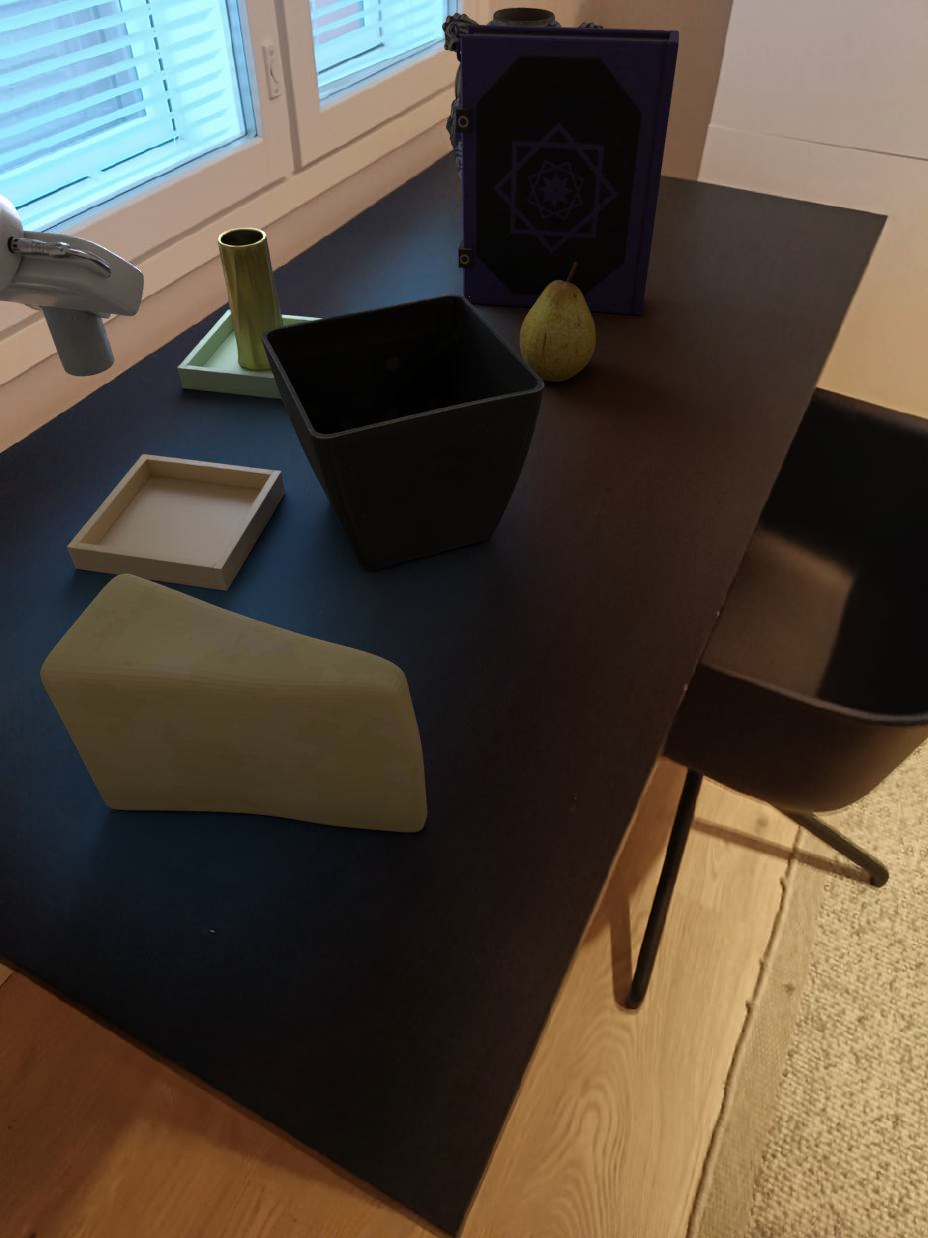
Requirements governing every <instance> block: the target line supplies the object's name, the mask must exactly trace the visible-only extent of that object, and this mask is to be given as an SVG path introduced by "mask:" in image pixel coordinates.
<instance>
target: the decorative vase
mask: <svg viewBox="0 0 928 1238" xmlns="http://www.w3.org/2000/svg"><path fill="white" fill-rule="evenodd" d="M555 15H556V14H555V13H554V12H553V11H550V10H548V9H545V8H544V9H543V8H537V7H536V8H535V7H507V8H506V7H505V8H502V9H498V10H496V11H495V12H494V13H493V14H492V20H490V21H489V22H488V23H487V24H486V25H506V26H541V27H563V26H562V24H561V23H560V22H559V21H557V20H556V16H555ZM468 24H472V25H480V24H479V23H478V22H477V21H476V20H474V19H472V18H470V17H469V16H468V15H467V14H466V13H461V14H460V13H459V12H455V13H454V14H453V15H447V16H446V17H445V21H444V22H442V25H441V29H442V32H443V33H444V44H443V48H444V50H445V51H449V52H453V53H455V54H456V59H457V61H458V62H459V64H458V67H457V70H456V73H455V78H454V99H453V100H452V101H451V105H450V113H449V115H448V117H447V119H446V124H445V128H446V130H447V133H448V134H449V141H450V145H451V147H452V151H453V156H454V161H455V166H456V170H457V172H458V176H459V179H460V183H461V184H462V133H459V132H457V124H456V109H457V108H458V106H459V104H460V103H461V34H468ZM576 28H604V26H603V25H601V24H598V25H597V24H596V23H595V22H594V21H591V22H588V23H587V22H582V23H581V24H580V25H579V26H576Z"/></svg>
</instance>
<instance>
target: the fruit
mask: <svg viewBox="0 0 928 1238" xmlns="http://www.w3.org/2000/svg"><path fill="white" fill-rule="evenodd" d="M578 265H579V263H578V262H574V263H573V266H572V269H571V272H570V274H569V276H568V278H567V280H566V282H565V281H561V280H556V281H553V282H552V283H550V284H549V285H548V286H547V287H546V288H545V289H544V291H543V292H542V294H541V295H540V297H539V298H538V300H537V301H536V302H535V304H534V305H533V307H532V308H530V309H529V311H528V312H527V313H526V315H525V317H524V319H523V321H522V324H521V327H520V332H519V348H520V354H521V355H520V356H521V358H522V359H523V360H524V361H525V362H526V363H527V364H528V365H529V366H530V367H531V369H532V370H533V371H534V372H535V373H536V374H537V375H538V376H539V377H540V378H541V379H542V380H543V381H545V382H551V383H552V382H554V383H555V382H556V383H557V382H558V383H559V382H564V381H567V380H569V379H571V378H573V377H575V376H577V375H578V374H579V373H580V372H581V371H582V370H583V369H584V368H585V367H586V366H588V364H589V363H590V361H591V359H592V357H593V356H594V353H595V350H596V345H597V334H596V333H597V332H596V324H595V321H594V318H593V315H592V312H590V310H589V308H588V306H587V304H586V301H585V299H584V297H583V294H582V292H581V291H580V289H579V288H578V287H577V286H575V285H574V284H572V283H570V281H571V278H572V276H573V275H574V273H575V270H576V267H577V266H578Z"/></svg>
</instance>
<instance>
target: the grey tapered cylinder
mask: <svg viewBox="0 0 928 1238" xmlns="http://www.w3.org/2000/svg"><path fill="white" fill-rule="evenodd" d="M41 308H42V311H41V312H42V314H43V317H44V319H45V322H46V324H47V328H48V330H49V333H50V335H51V338H52V341H53V343H54V346H55V350H56V352H57V355H58V357H59V360H60V364H61V365H62V368H63V370H64V372H65V373H66V374H68V375H70V376H73V377H89V376H95V375H98V374H101V373H104V372H106V371H108V370H109V369H110V368H111V367H113V365H114V364H115V356H114V352H113V349H112V346H111V343H110V340H109V339H110V338H109V337H108V334H107V330H106V327H105V324H104V321H103V318H98V317H92V316H91V315H89V314H87V313H85V312H84V311H82V310H74V309H66V308H57V307H49V306H41Z"/></svg>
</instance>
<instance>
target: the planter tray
mask: <svg viewBox="0 0 928 1238" xmlns="http://www.w3.org/2000/svg"><path fill="white" fill-rule="evenodd" d="M282 471H283V470H277V469H276V470H275V469H274V470H273V469H267V468H259V467H252V466H251V467H250V466H242V465H233V464H226V463H220V462H219V463H218V462H211V461H210V462H209V461H204V460H195V459H186V458H179V457H171V456H170V457H169V456H161V455H154V454H145V453H142V454H141V456H140V457H139V458H138V459H137V460H136V462H135V463H134V464H133V465H132V467H130V469H129V470H128V471H127V472H126V474H125V475H124V476H123V477H122V479H121V480H120V481H119V482H118V483H117V485H116V486H115V487H114V488H113V490H112V491H111V492H110V493H109V494H108V496H107V497H106V498H105V500H104V501H103V502H102V503H101V504H100V505H99V506H98V507H97V509H96V510H95V511H94V513H93V514H92V515H91V516H90V518H89V519H88V520H87V522H86V523H85V524H84V525H83V526H82V528H81V529H80V530H79V531H78V533H76V534H75V536H74V537H73V539H72V540H71V541H70V542H69V543H68V545H66V549H67V551H68V554H69V556H70V558H71V561H72V563H73V565H74V569H76V570H83V571H89V572H95V573H101V574H102V573H103V574H108V575H109V574H110V575H116V576H118V575H120V574H132V575H135V576H138V577H141V578H144V579H147V580H149V581H156V582H163V583H170V584H176V585H184V586H190V587H196V588H204V589H209V590H218V591H223V592H224V591H225V592H228V591H229V588H230V587H231V585H232V584H233V582H234V580H235V579H236V577H237V575H238V573H239V572H240V570H241V568H242V566H243V565H244V563H245V562H246V560H247V558H248V556H249V555H250V553H251V552H252V549H253V548H254V546H255V545H256V542H257V541H258V539H259V538H260V536H261V535H262V533H263V531H264V529H265V528H266V526H267V525H268V523H269V521H270V520H271V518H272V516H273V514H274V513H275V511H276V509H277V507H278V506H279V504H280V503H281V501H282V499H283V497H284V496H285V494H286V489H285V482H284V477H283V472H282Z"/></svg>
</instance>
